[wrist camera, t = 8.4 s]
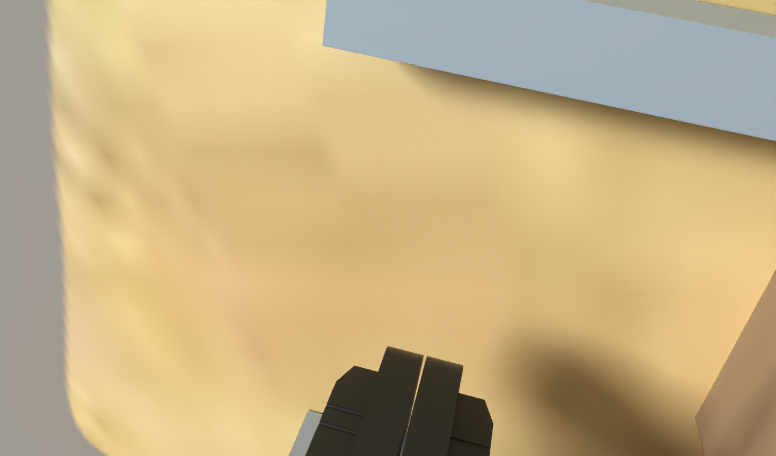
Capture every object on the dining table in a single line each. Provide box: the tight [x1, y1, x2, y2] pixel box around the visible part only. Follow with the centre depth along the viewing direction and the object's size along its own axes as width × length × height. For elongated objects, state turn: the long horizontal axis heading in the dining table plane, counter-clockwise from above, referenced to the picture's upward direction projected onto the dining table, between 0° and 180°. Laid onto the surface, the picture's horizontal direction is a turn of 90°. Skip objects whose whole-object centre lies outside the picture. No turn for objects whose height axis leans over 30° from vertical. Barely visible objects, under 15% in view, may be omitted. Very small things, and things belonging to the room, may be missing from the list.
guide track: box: [289, 0, 776, 456], centre depth 12 cm, size 19×14×5 cm
